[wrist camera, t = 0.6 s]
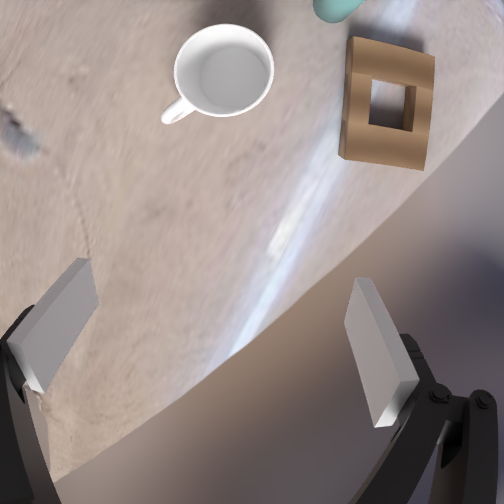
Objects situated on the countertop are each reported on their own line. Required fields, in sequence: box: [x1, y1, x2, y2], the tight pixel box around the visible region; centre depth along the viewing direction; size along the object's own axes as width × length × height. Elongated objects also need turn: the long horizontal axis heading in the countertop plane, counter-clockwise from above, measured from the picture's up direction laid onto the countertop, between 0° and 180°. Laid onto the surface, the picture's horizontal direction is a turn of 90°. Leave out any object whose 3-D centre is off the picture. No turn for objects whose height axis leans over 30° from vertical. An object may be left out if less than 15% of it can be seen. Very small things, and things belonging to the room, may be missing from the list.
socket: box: [338, 36, 435, 171], centre depth 31 cm, size 14×10×3 cm
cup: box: [161, 24, 274, 124], centre depth 28 cm, size 8×12×10 cm
